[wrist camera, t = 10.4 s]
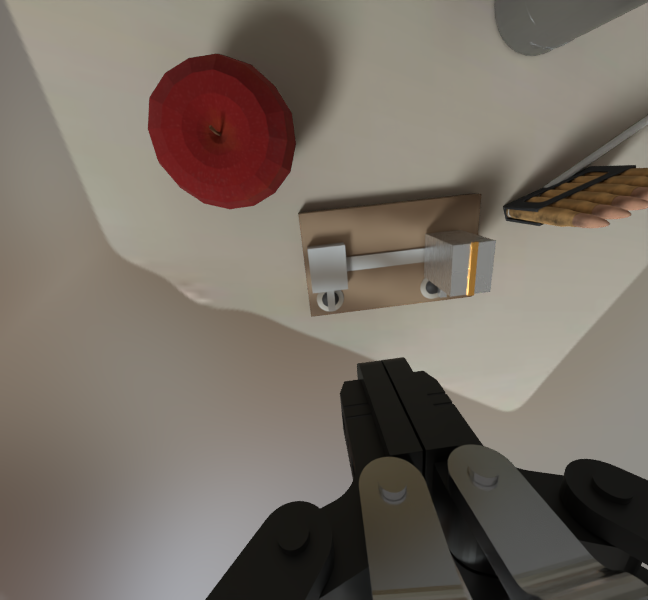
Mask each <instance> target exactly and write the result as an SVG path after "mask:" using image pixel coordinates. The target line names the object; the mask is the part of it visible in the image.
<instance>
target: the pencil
mask: <svg viewBox="0 0 648 600" xmlns="http://www.w3.org/2000/svg"><path fill="white" fill-rule="evenodd" d="M647 124H648V115H647V116H646V117H644V118H643V119H641V120H640V121H638V122H637V123H636V124H634V125H633V126H631V127H630V128H628V129H627V130H625V131H624V132H622V133H621V134H620V135H618V136H617V137H615V138H614V139H612V140H611V141H609V142H608V143H606V144H605V145H604V146H602V147H601V148H599V149H598V150H596V151H595V152H593V153H592V154H591V155H589V156H588V157H586V158H585V159H583V160H582V161H580V162H579V163H577V164H576V165H575V166H573V167H572V168H570V169H569V170H567V171H566V172H564V173H563V174H561V175H560V176H559V177H557V178H556V179H554V180H552V181H551V182H549V183H548V184H547V185H545V186H544V187H543V188H547V187H550V186H552V185H555V184H557V183H559V182H561V181H563V180H565V179H568V178H569V177H571V176H573V175H574V174H576V173H577V172H578V171H580V170H581V169H583V168H584V167H586V166H587V165H589V164H590V163H592V162H593V161H595V160H596V159H597V158H599V157H600V156H602V155H603V154H605V153H606V152H608V151H609V150H611V149H612V148H614V147H615V146H616V145H618V144H619V143H621V142H622V141H624V140H625V139H627V138H628V137H630V136H631V135H633V134H634V133H635V132H637V131H638V130H640V129H641V128H643V127H644V126H646V125H647ZM551 190H552V189H551Z"/></svg>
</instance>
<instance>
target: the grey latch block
mask: <svg viewBox="0 0 648 600" xmlns="http://www.w3.org/2000/svg"><path fill="white" fill-rule="evenodd" d="M495 244H496V240H492V239H489V238H486V237H482V236H479V235H476V234H473V233H469V232H466V231H463V230H454V231H446V232H437V233H428V234H425V261H424V277H425V278H426V279H428V280H429V281H430V282H432V283H433V284H434V285H436V286H437V287H438V297H440V298H442V297H447V295H449V296H450V297H451V296H459V295H467V296H472V295H474V294H475V293H483V292H490V288H491V280H492V271H493V262H494V253H495Z"/></svg>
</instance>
